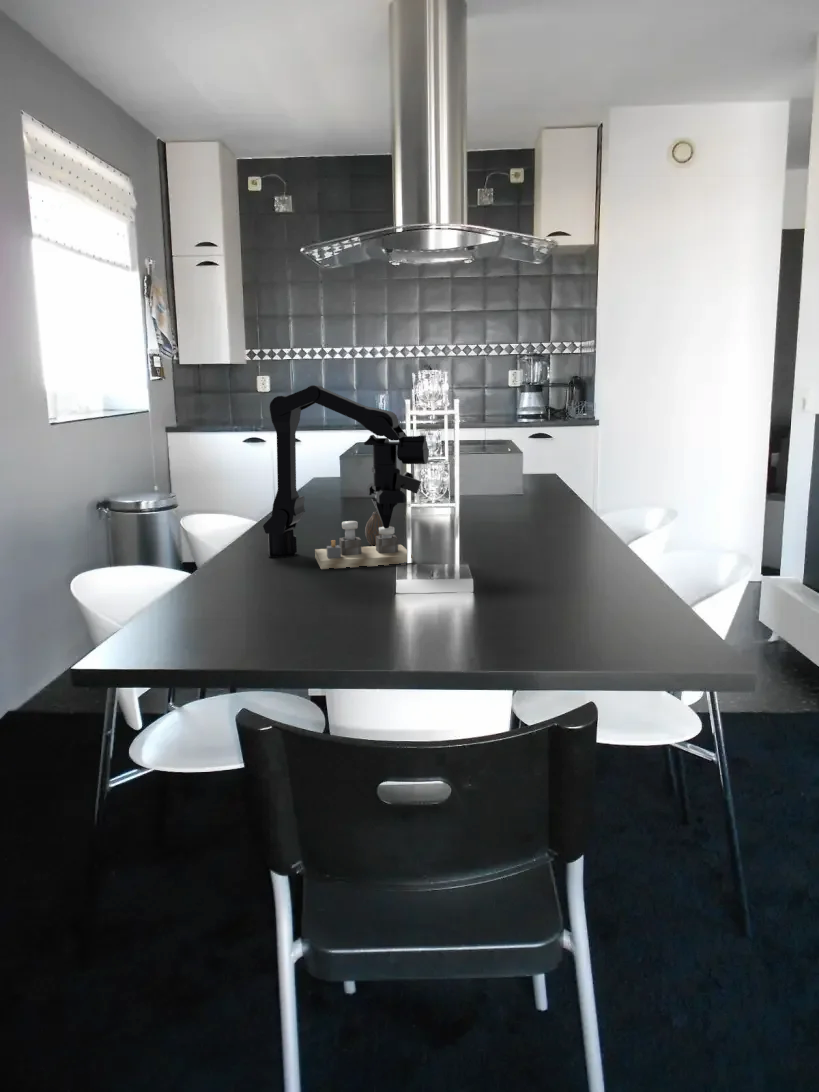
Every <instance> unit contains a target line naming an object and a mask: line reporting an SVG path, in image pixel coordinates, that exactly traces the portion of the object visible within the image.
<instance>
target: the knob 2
mask: <svg viewBox="0 0 819 1092" xmlns="http://www.w3.org/2000/svg"><path fill="white" fill-rule="evenodd" d="M379 534H381V535H382V538H392V535H395V527H394V526H390V527H389V528H384V527H379Z"/></svg>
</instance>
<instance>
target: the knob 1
mask: <svg viewBox="0 0 819 1092" xmlns="http://www.w3.org/2000/svg"><path fill="white" fill-rule="evenodd" d="M358 523H359V521H356V520H348V521H347V520H345V521H342V522H341V529H342V530H344V537H345V540H355V537H356V529H358V528H359V527H358V526H359V525H358Z"/></svg>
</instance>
